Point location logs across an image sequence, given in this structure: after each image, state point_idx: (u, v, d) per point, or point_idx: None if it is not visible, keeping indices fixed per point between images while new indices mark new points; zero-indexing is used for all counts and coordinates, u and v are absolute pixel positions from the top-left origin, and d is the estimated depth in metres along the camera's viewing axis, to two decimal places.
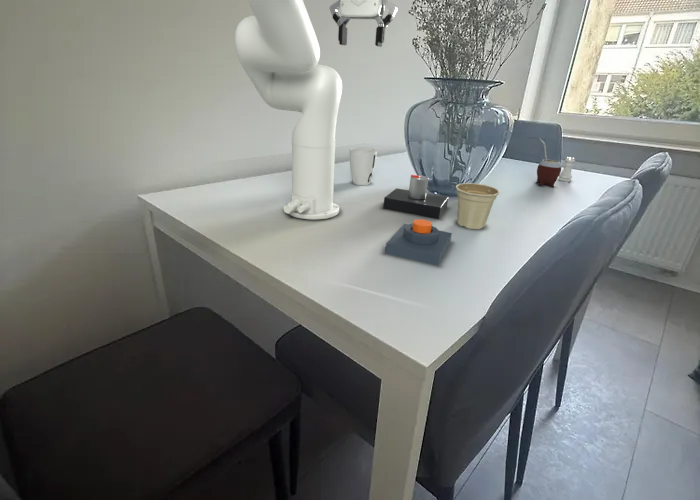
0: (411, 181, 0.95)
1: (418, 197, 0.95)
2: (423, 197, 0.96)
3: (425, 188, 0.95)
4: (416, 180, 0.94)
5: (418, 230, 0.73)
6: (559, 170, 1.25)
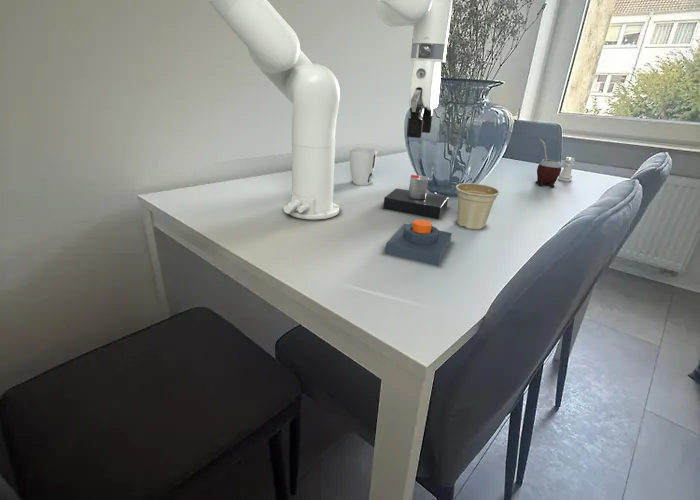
0: (411, 181, 0.95)
1: (418, 197, 0.95)
2: (423, 197, 0.96)
3: (425, 188, 0.95)
4: (416, 180, 0.94)
5: (418, 230, 0.73)
6: (559, 170, 1.25)
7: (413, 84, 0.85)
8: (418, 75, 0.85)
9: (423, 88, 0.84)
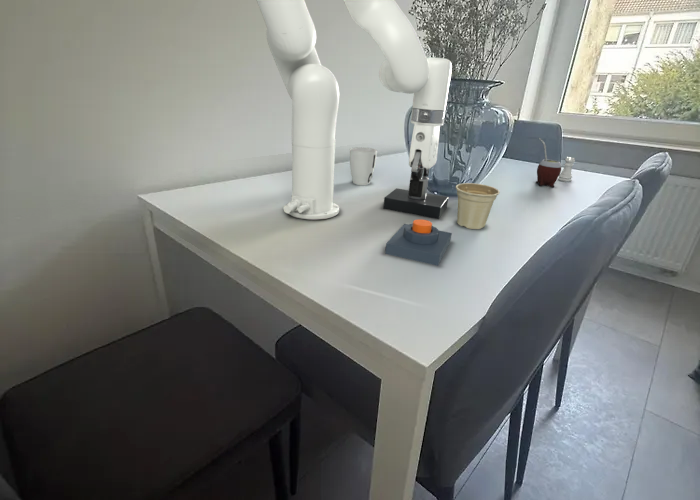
0: None
1: (418, 197, 0.95)
2: (423, 197, 0.96)
3: (425, 188, 0.95)
4: None
5: (418, 230, 0.73)
6: (559, 170, 1.25)
7: (413, 146, 0.89)
8: (418, 137, 0.89)
9: (422, 150, 0.88)
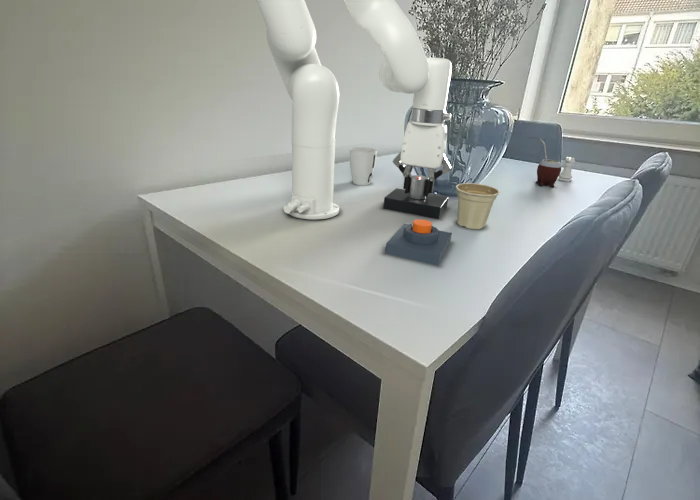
0: (423, 183, 0.94)
1: None
2: None
3: None
4: None
5: (418, 230, 0.73)
6: (559, 170, 1.25)
7: (443, 147, 0.90)
8: None
9: (445, 149, 0.92)
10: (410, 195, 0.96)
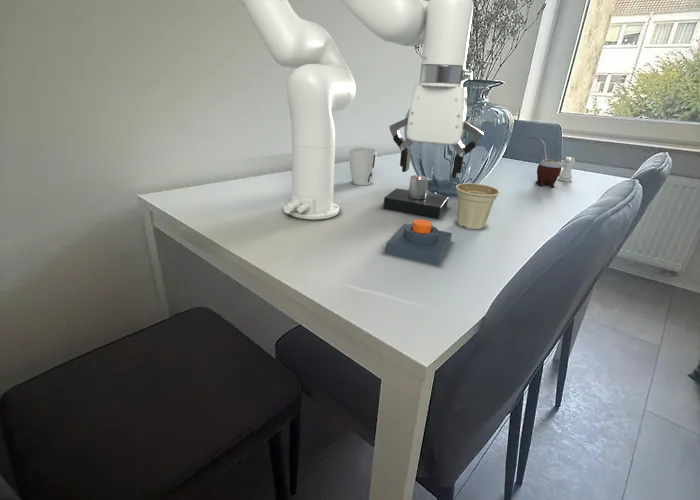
0: (423, 183, 0.94)
1: None
2: None
3: None
4: None
5: (418, 230, 0.73)
6: (559, 170, 1.25)
7: (463, 116, 0.69)
8: None
9: None
10: (410, 195, 0.96)
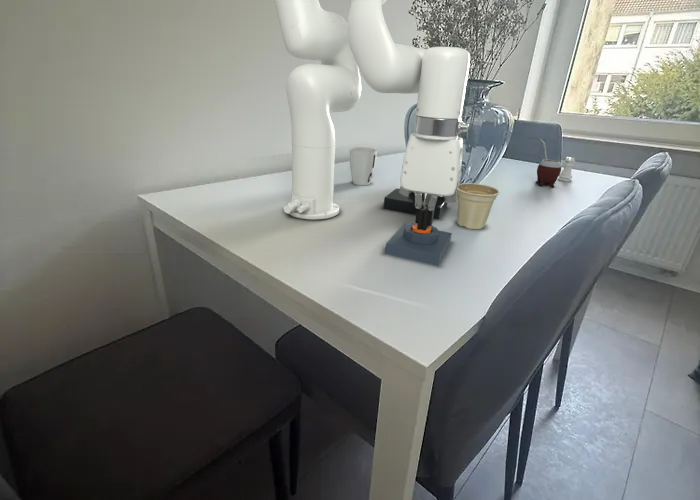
0: None
1: None
2: None
3: None
4: None
5: None
6: (559, 170, 1.25)
7: (458, 168, 0.67)
8: None
9: (460, 170, 0.69)
10: None
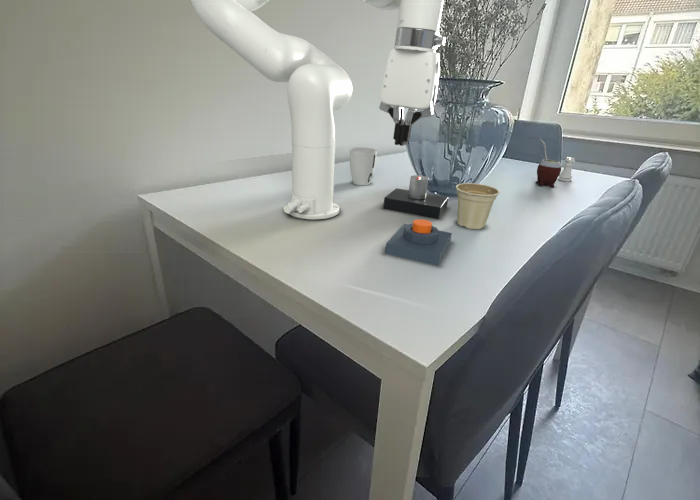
0: (423, 183, 0.94)
1: None
2: None
3: None
4: None
5: (418, 230, 0.73)
6: (559, 170, 1.25)
7: (433, 81, 0.71)
8: None
9: (437, 85, 0.73)
10: (410, 195, 0.96)
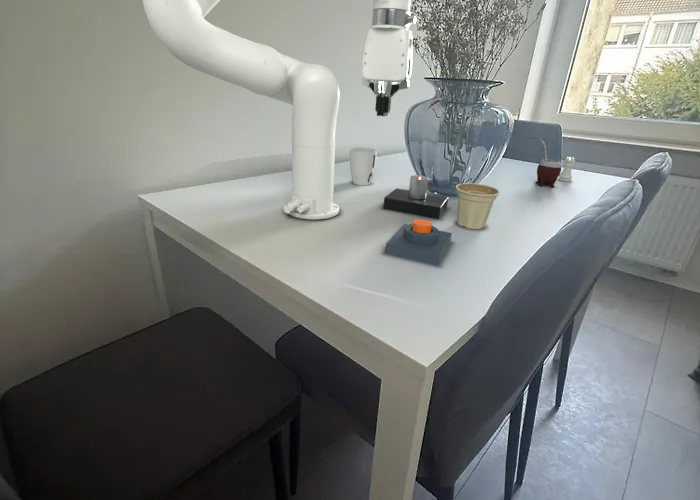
0: (423, 183, 0.94)
1: None
2: None
3: None
4: None
5: (418, 230, 0.73)
6: (559, 170, 1.25)
7: (408, 55, 0.80)
8: None
9: (411, 59, 0.82)
10: (410, 195, 0.96)
